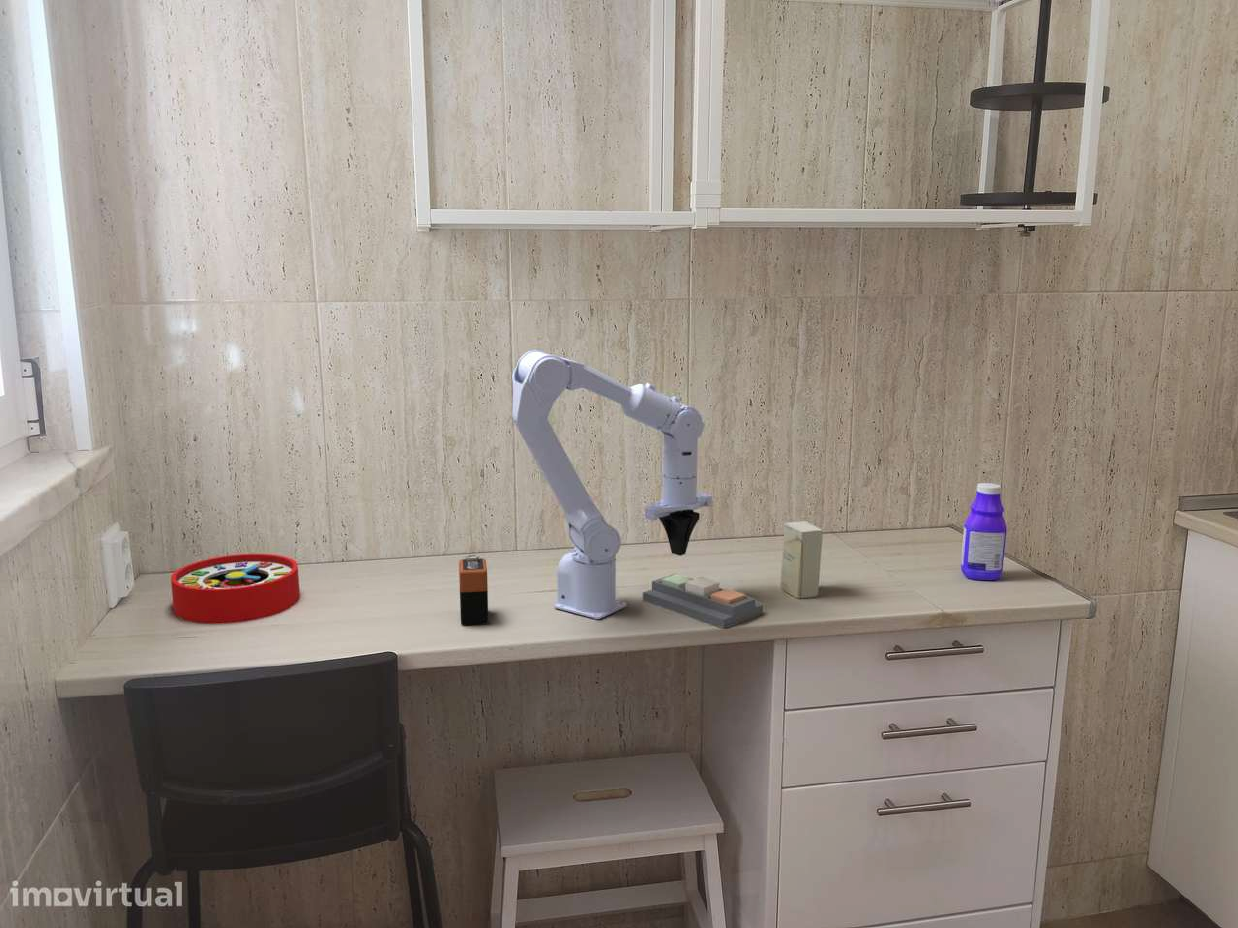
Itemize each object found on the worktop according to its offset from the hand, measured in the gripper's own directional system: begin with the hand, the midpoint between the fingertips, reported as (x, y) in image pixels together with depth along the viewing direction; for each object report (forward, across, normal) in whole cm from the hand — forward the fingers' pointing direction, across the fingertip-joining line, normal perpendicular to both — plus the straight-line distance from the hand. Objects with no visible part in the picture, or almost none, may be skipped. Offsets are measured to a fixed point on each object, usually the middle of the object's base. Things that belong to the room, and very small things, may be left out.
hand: (678, 553), depth 168 cm
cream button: (+5, 0, -5) cm, 8 cm away
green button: (+6, 0, 0) cm, 6 cm away
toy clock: (+9, -55, +50) cm, 75 cm away
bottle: (+8, +50, -30) cm, 59 cm away
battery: (+8, -31, +16) cm, 36 cm away
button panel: (+8, 0, -6) cm, 10 cm away
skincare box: (+8, +18, -12) cm, 23 cm away
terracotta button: (+6, 0, -11) cm, 13 cm away
